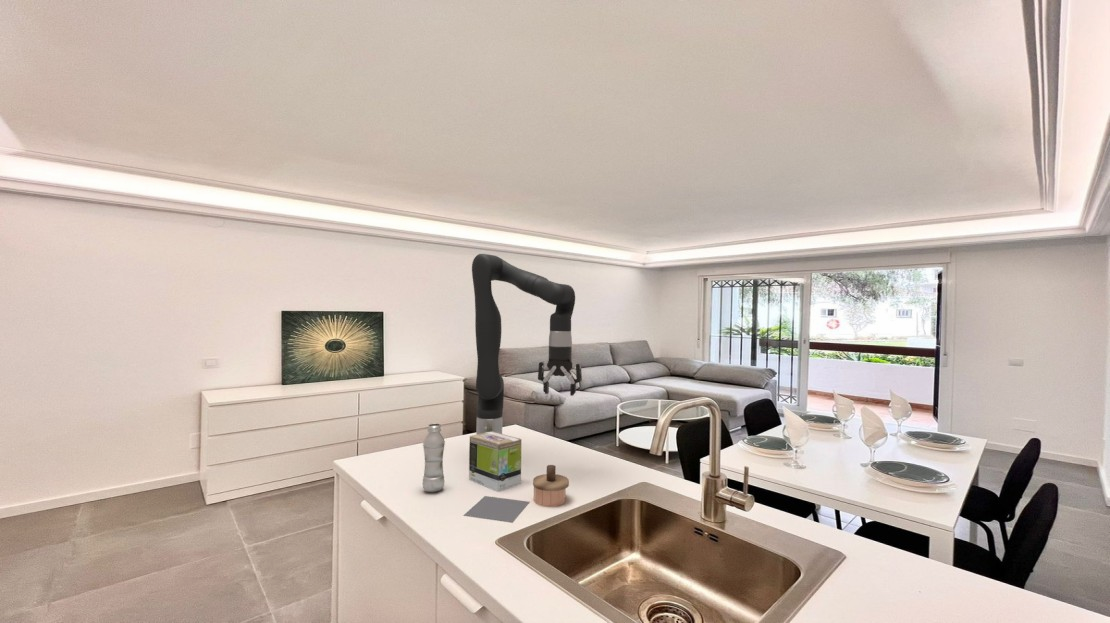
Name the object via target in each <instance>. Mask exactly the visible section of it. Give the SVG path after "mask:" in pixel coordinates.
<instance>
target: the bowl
mask: <svg viewBox="0 0 1110 623" xmlns="http://www.w3.org/2000/svg"><path fill="white" fill-rule="evenodd" d="M566 489H567V488H565V489H563V490H558V491H544V490H540V489H537V488H535V487H534V486H533V501H534V503H535V505H536V504H537V505H538V506H542V507H558V506H561V505H563V504H564V503H565V502H566V497H567V495H566V492H567V490H566Z"/></svg>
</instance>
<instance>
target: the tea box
mask: <svg viewBox="0 0 1110 623" xmlns="http://www.w3.org/2000/svg"><path fill="white" fill-rule="evenodd" d="M468 456H469V458H468V459H469V460H468V461H469V462H468V463H469V464H468V480H469V481H471V482H473V483H476V484H478V485H480V486H484V487H485V488H488V489H490V490H493V491H495V492H502V491H505V490H507V489H510V488H513V487H515V486H519V485H520V484H521V483H522V439H521V438H520V437H519V438H518V437H515V436H512V435H508V434H504V433H502V434H500V433H496V432H493V431H492V432H487V433H482V434H477V435H476V434H474V435H470V436H469V453H468Z"/></svg>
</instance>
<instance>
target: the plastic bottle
mask: <svg viewBox="0 0 1110 623" xmlns="http://www.w3.org/2000/svg"><path fill="white" fill-rule="evenodd" d="M427 426H428V427H427V432H428V433H427V435H426V436H425V438H424V439H423V442H422V447H423V454H424V470H423V471H424V472H423V476H422V484H421V485H422V489H423V490H424V491H425V492H428V493H436V492H440V491H442V490H443V488H444V486H445V483H446V482H445V474H444V466H443V465H444V463H443V462H444V450H445V445H446V441H445V438H444V436H443V434H442V433H441V430H442V428H441V427H442V426H441V424H440V423H430V424H428V425H427Z"/></svg>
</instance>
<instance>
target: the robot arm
mask: <svg viewBox="0 0 1110 623" xmlns="http://www.w3.org/2000/svg"><path fill="white" fill-rule="evenodd" d="M472 260H473V261H472V262H471V264H472V265H471V276H472V282H473V284H472V285H473V293H474V310H475V311H474V312H475V319H474V320H475V321H474V322H475V324H474V325H475V341H476V342H475V345H476V355H477V369H476V380H475V389H476V393H477V394H478V398H477V401H478V402H477V406H476V434H475V435H477V434H482V433H487V432H492V431H493V432H496V433H500V434H503V415H504V414H503V412H504V398H505V396H504V394H505V393H504V392H505V390H504V389H505V383H504V378H503V377H502V375H501V374H500V366H499V356H500V350H501V344H502V316H501V313H500V310H499V307H498V306H497V304H496V301H495V298H494V296H493V291H492V281H499V282H504V283H508V284H510V285H513V286H515V287H516V288H517V289H518V290H520V291H522V292H525V293H526V294H529V295H531V296H533V297H536V298H539V299H541V300H543V301H545V302H546V303H548V304H551V305H553V306H555V311H554V312H553V313H551V315H550V317H549V334H548V361H547V362H544V361H541V362H539V363H538V372H537V380H538V381H541V382H543V383H542V384H543V387H542V390H543V393H544V395H548V394H549V393H550V382H549V381H550V380H551V378H552V377H553V376H555V377H558V376H559V377H566V378H567V379H568V380H569V382H570V387H569V389H570V390H569V392H570V393H569V395H570V396H571V397H573V396H575V394H576V391H577V390H576V388H577V384H578V383H580V382H582V380H583V378H582V377H583V375H582V364H581V363H580V362H578V363H573V361H572V358H573V357H572V355H573V354H572V352H573V350H572V346H573V340H572V339H573V338H572V316H573V313H574V308H575V304H576V291H575V290H574V287H572V286H571V285H569V284H566V283H565V284H564V283H557V282H554V281H551V280H549V279H548V278H547V277H544V276H542V275H539V274H536V273H535V272H534V273H533V272H531V271H528V270H524V269H522V268H519V267H517V266H514V265H513V264H511V263H509V262H508V261H506V260H504V259H502V258H501V257H499V256H498V255H493V254H489V253H488V254H487V253H479V254H477V255H476V256H475V257H474V258H473V259H472ZM546 368H547V369H548V370H549V371H548V373H547V374H546V375H545V369H546ZM572 369H574V371H575V373H576V374H575V375H576V376H574V375H573V373H572V372H571V370H572ZM544 375H545V376H544Z"/></svg>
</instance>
